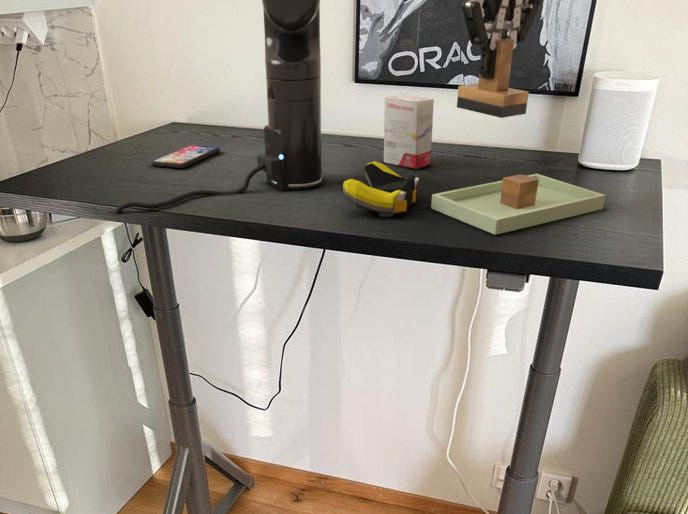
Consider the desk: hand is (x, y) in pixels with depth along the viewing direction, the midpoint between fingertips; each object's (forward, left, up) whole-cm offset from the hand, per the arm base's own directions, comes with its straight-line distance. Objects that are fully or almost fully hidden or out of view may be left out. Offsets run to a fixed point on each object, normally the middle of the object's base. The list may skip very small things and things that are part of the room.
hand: (494, 76), depth 109 cm
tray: (+5, -4, -19) cm, 20 cm away
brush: (0, 0, -5) cm, 5 cm away
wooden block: (+5, -4, -18) cm, 19 cm away
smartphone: (-28, +56, -19) cm, 66 cm away
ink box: (+7, +29, -19) cm, 36 cm away
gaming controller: (-13, +9, -19) cm, 25 cm away
